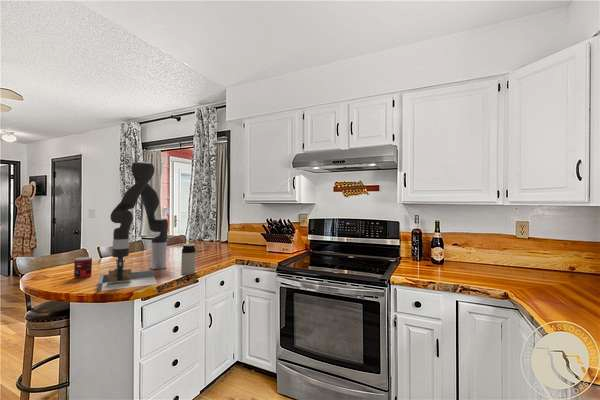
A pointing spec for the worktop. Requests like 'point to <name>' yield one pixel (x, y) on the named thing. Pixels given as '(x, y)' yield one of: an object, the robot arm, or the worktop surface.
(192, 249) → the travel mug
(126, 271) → the walnut block
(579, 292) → the worktop surface
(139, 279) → the tray
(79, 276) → the canned food
